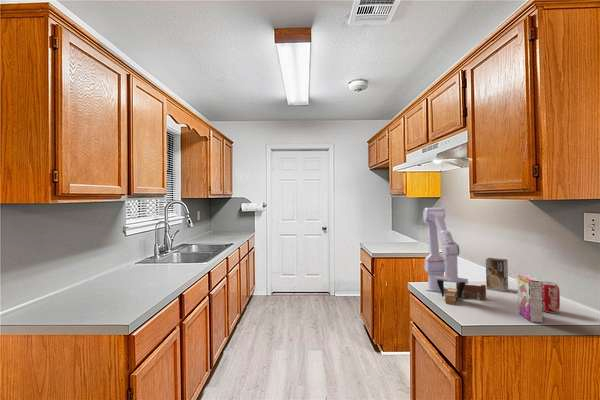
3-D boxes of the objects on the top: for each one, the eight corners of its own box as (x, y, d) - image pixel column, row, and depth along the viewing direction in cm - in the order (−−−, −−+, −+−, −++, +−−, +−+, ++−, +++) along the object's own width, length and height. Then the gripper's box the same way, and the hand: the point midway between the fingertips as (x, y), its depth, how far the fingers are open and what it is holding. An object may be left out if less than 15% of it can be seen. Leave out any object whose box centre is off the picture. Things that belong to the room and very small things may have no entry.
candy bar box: (517, 313, 146) (516, 274, 146) (530, 313, 145) (530, 274, 145) (529, 322, 135) (528, 280, 135) (543, 323, 134) (543, 280, 134)
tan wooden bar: (448, 295, 174) (448, 287, 174) (457, 296, 172) (457, 288, 172) (445, 303, 162) (445, 295, 162) (454, 304, 160) (454, 296, 160)
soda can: (563, 312, 146) (562, 283, 146) (554, 315, 143) (554, 286, 143) (544, 307, 152) (544, 280, 152) (536, 310, 149) (535, 282, 149)
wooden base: (456, 295, 174) (456, 282, 174) (486, 298, 168) (485, 285, 168) (455, 297, 170) (455, 284, 170) (485, 301, 164) (485, 287, 164)
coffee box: (508, 289, 183) (508, 259, 183) (504, 292, 178) (504, 260, 178) (490, 286, 189) (489, 257, 189) (485, 289, 185) (485, 259, 185)
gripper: (433, 269, 167) (434, 297, 167) (467, 271, 160) (467, 301, 160) (435, 266, 173) (436, 293, 173) (468, 268, 166) (468, 297, 166)
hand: (451, 297), depth 167 cm, fingers open, 7 cm apart
